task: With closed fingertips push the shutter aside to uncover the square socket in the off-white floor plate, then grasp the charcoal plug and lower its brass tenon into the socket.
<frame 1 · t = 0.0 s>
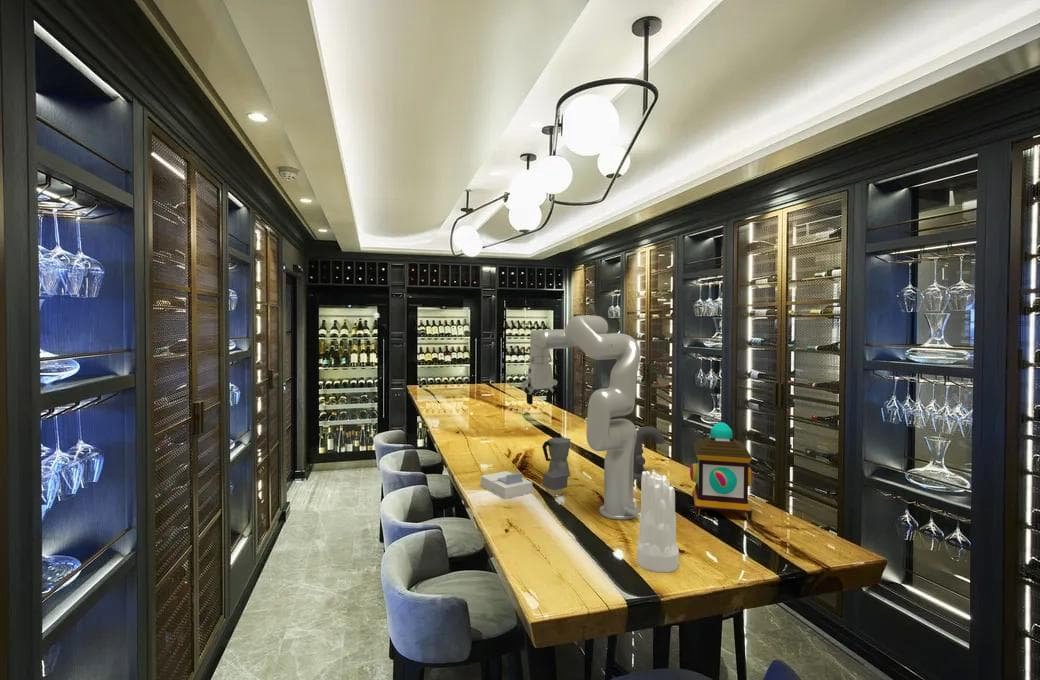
hand: (539, 402, 212), 31 cm above the table, fingers open, 9 cm apart
decorative vase: (657, 563, 140), on the table
socket: (506, 489, 201), on the table
plug: (554, 494, 195), on the table
decorative lantern: (720, 510, 179), on the table
faucet: (645, 473, 222), on the table
shutter: (510, 476, 198), point 6 cm above the table, slide at 0.0 cm
coffeepot: (556, 477, 217), on the table
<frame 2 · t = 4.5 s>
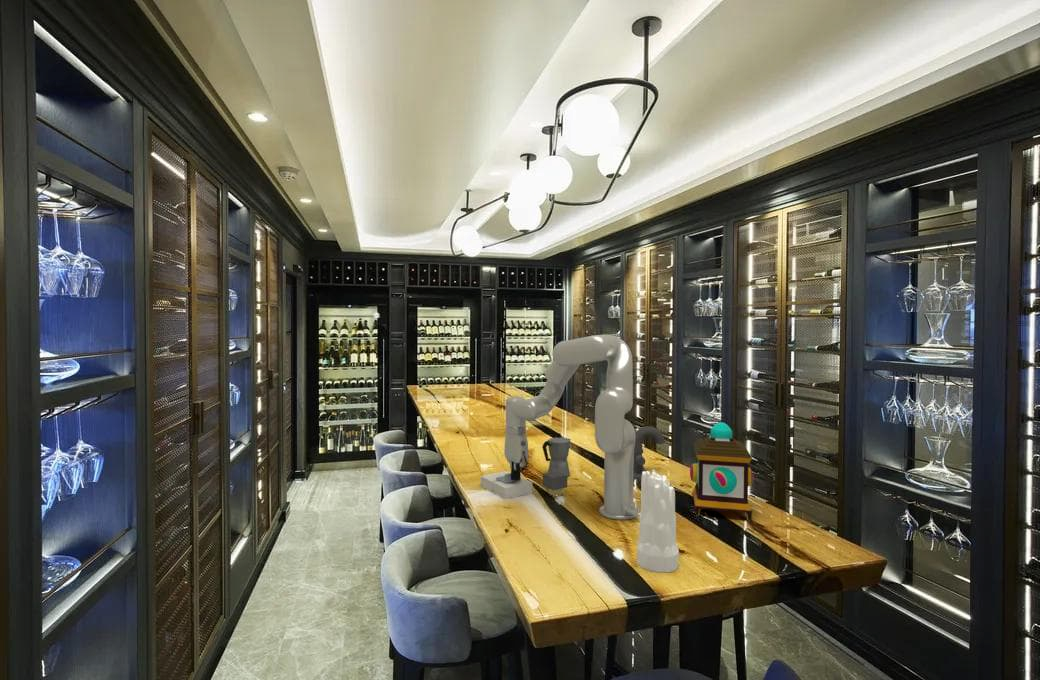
hand: (515, 479, 195), 6 cm above the table, fingers closed
shutter: (508, 475, 199), point 6 cm above the table, slide at 1.3 cm, touching gripper
everything else where it was.
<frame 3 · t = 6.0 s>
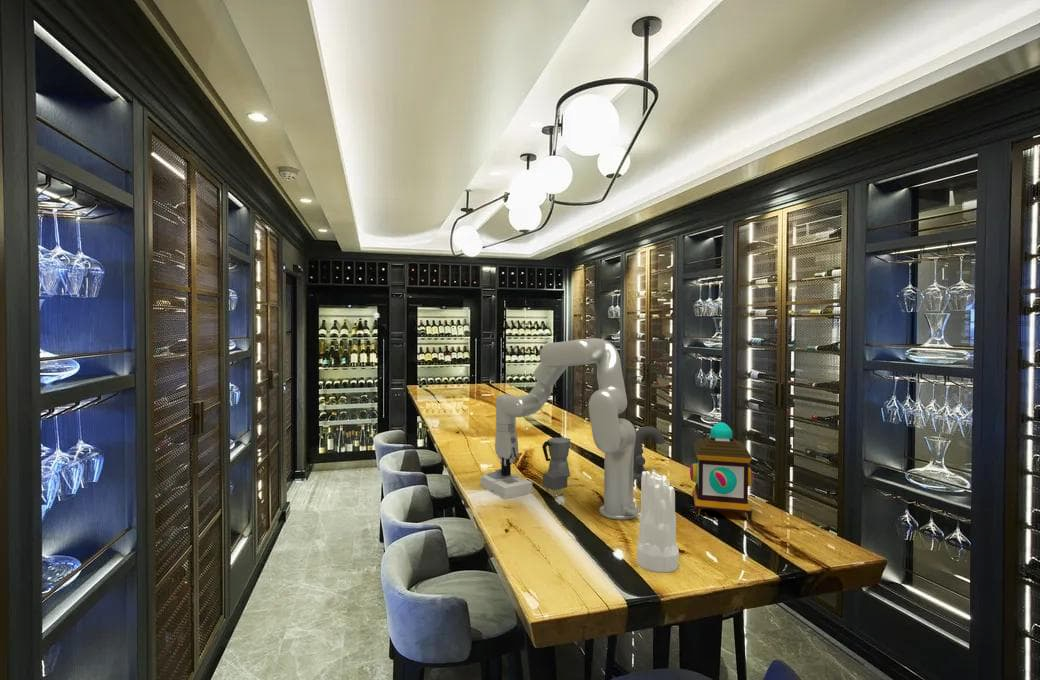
hand: (506, 475, 200), 6 cm above the table, fingers closed
shutter: (499, 471, 205), point 6 cm above the table, slide at 8.1 cm, touching gripper
everything else where it was.
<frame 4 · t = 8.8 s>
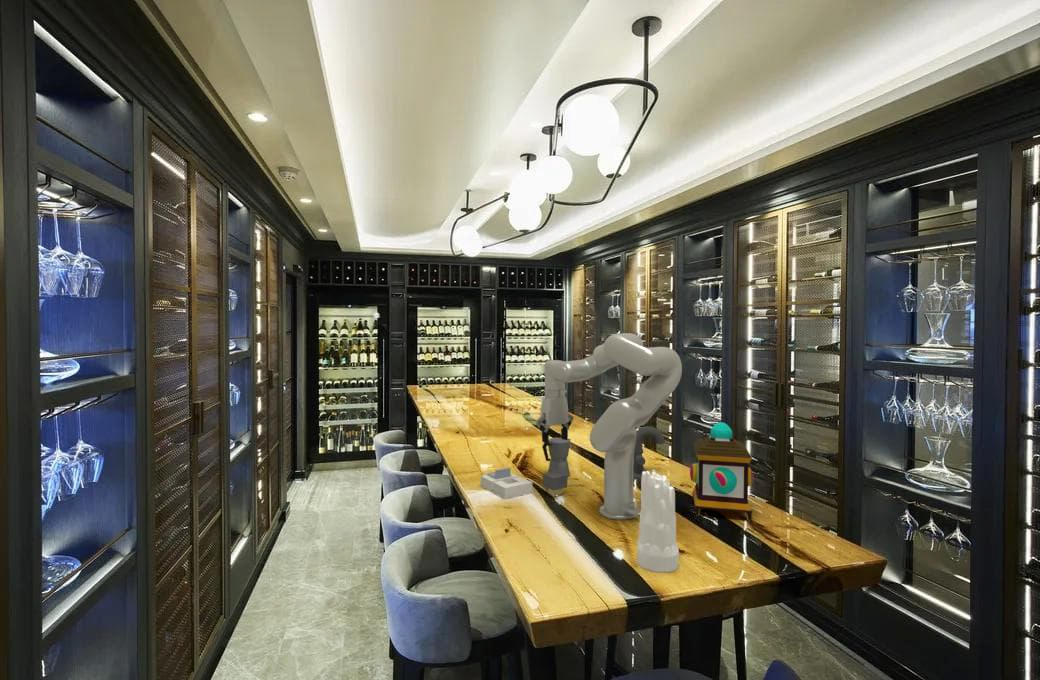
hand: (555, 440, 194), 20 cm above the table, fingers open, 8 cm apart
shutter: (499, 471, 205), point 6 cm above the table, slide at 8.0 cm
everything else where it was.
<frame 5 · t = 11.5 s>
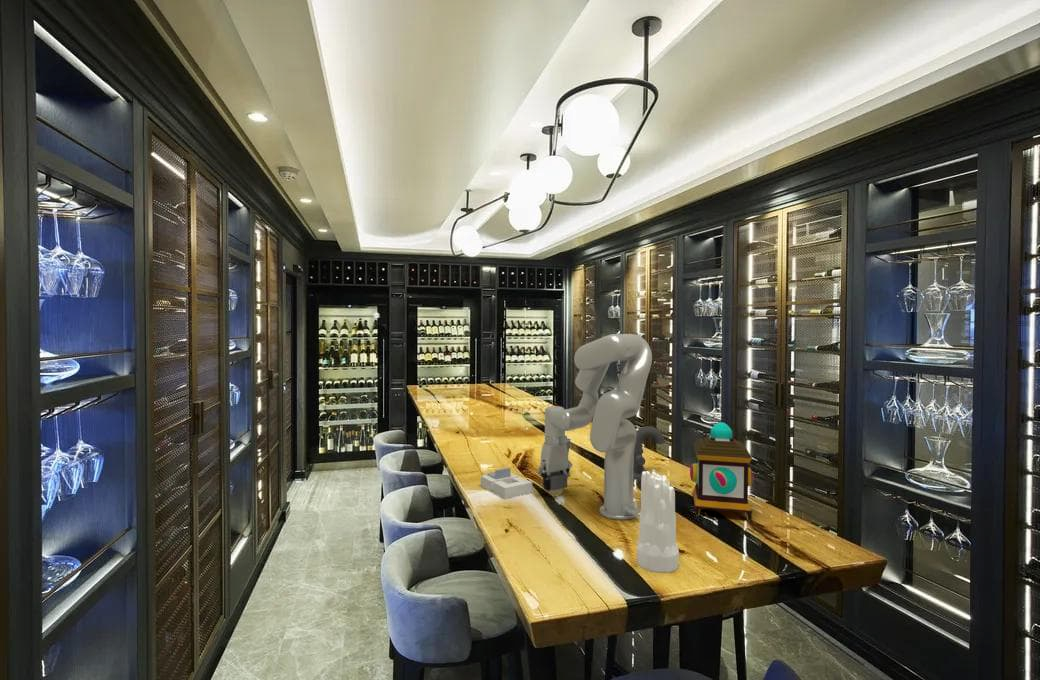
hand: (554, 487, 195), 2 cm above the table, fingers closed on plug, 6 cm apart
plug: (554, 494, 195), on the table, touching gripper
everything else where it was.
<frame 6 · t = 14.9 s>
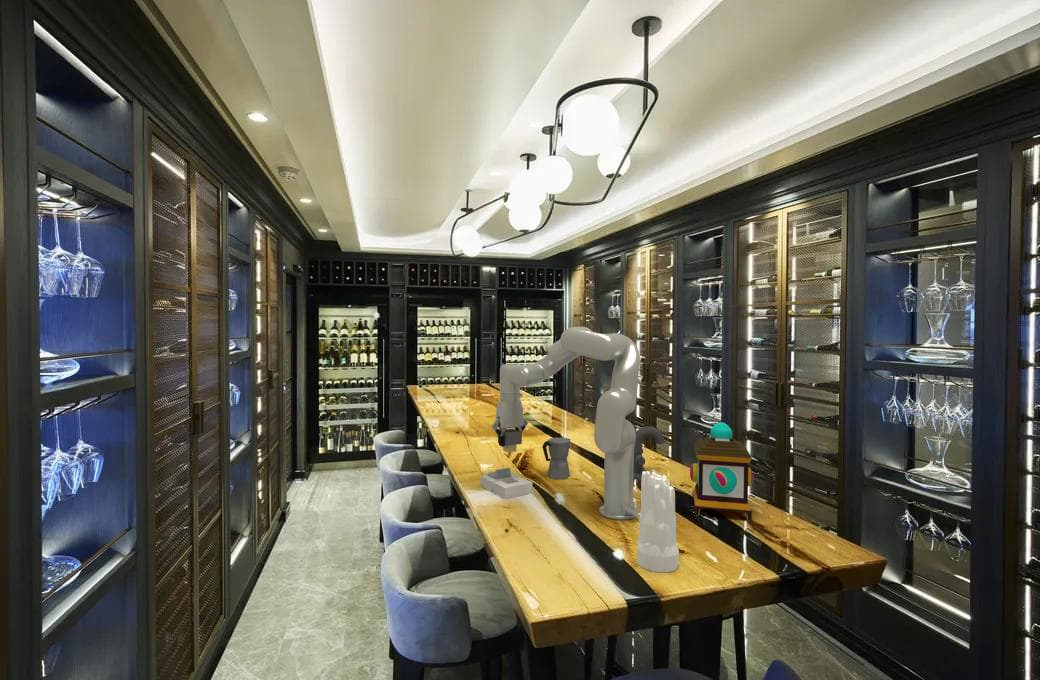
hand: (509, 444, 198), 18 cm above the table, fingers closed on plug, 6 cm apart
plug: (509, 450, 198), point 15 cm above the table, touching gripper
everything else where it was.
when the fingers open (5 cm above the table, at t = 18.5 s): plug drops 2 cm, resting on socket.
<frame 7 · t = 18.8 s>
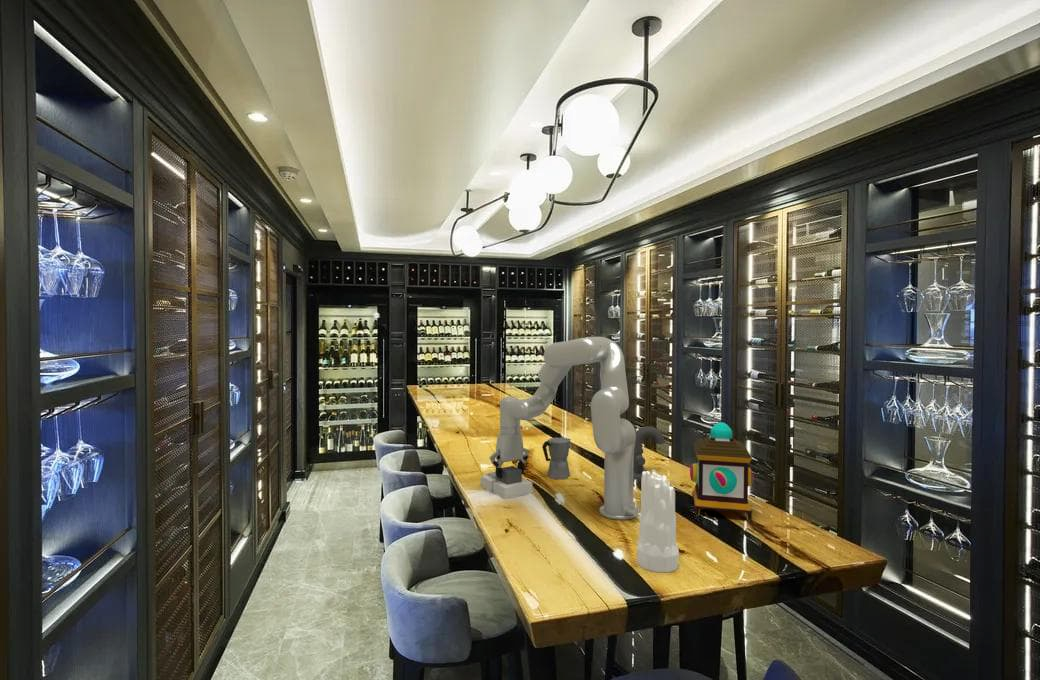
hand: (510, 475, 198), 6 cm above the table, fingers open, 9 cm apart
plug: (509, 488, 198), point 1 cm above the table, touching socket
everything else where it was.
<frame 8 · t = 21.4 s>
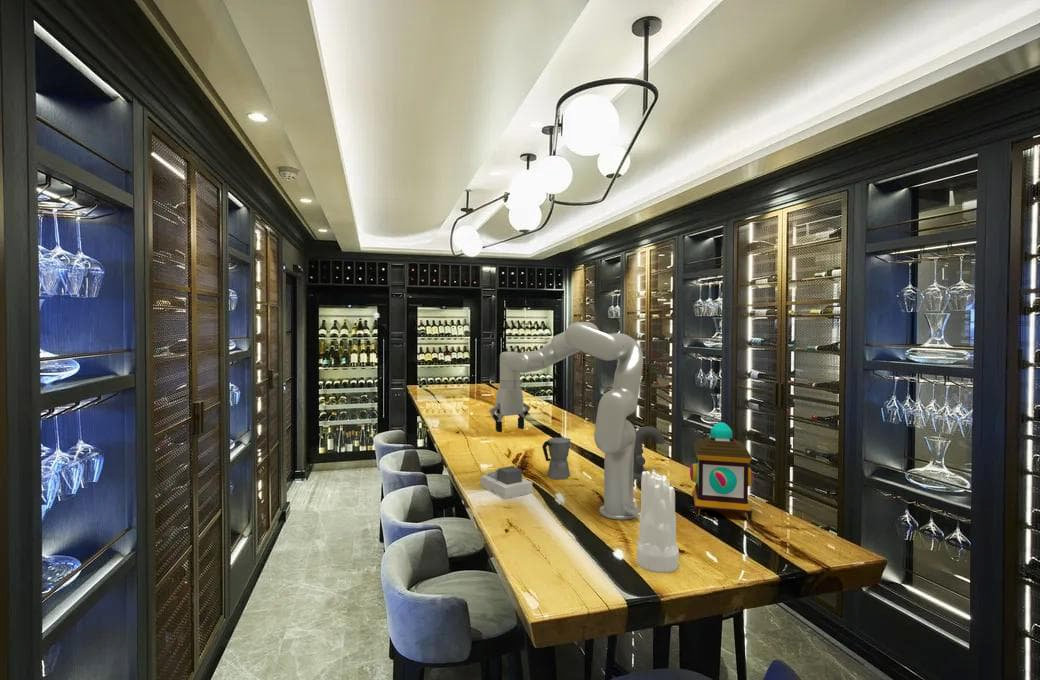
hand: (510, 430, 197), 23 cm above the table, fingers open, 9 cm apart
nothing on the table moved.
at the end: shutter slide at 8.0 cm; plug 0.1 cm from the target spot on the socket, point 1.0 cm above the socket's base; plug tilted 0° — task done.
